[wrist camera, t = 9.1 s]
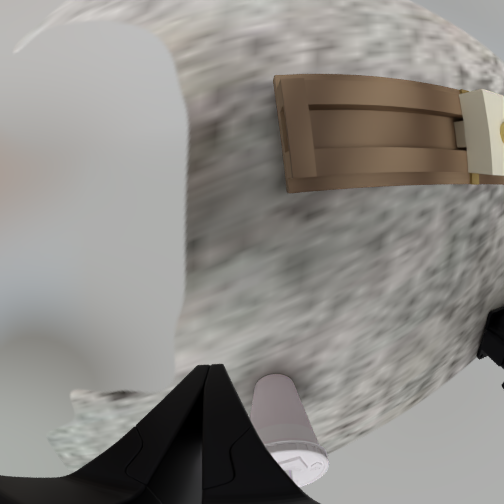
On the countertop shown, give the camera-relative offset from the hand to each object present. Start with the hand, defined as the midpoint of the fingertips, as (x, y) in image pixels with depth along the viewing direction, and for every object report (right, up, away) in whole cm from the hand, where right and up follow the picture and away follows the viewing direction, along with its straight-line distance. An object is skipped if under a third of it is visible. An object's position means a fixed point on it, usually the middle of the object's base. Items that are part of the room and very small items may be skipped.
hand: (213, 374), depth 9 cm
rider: (+17, +12, +6) cm, 22 cm away
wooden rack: (+13, +13, +10) cm, 21 cm away
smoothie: (+3, -9, +16) cm, 19 cm away
